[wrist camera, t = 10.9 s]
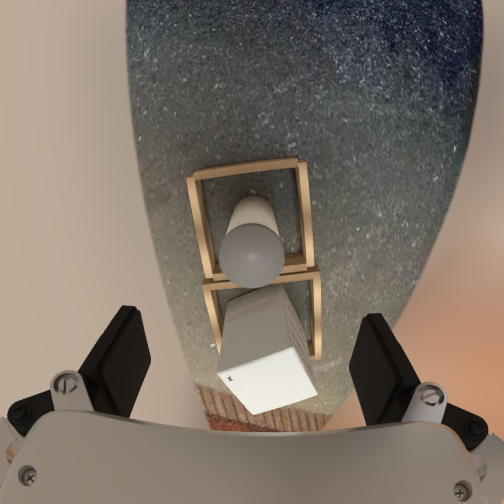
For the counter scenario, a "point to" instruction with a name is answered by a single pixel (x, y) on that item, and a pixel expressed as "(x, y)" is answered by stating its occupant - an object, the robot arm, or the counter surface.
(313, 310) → the oak rack
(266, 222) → the frosted tube
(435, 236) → the counter surface
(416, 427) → the robot arm
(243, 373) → the supplement box
